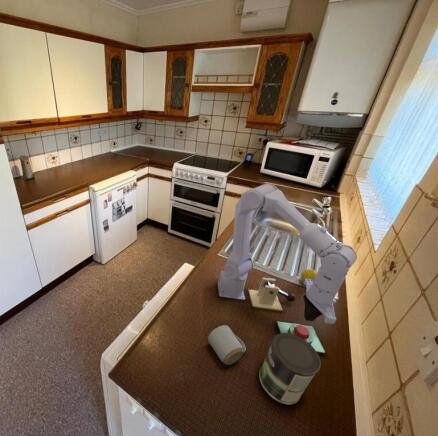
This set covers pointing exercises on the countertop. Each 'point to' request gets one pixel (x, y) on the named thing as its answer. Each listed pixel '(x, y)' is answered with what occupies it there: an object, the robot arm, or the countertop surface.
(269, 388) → the coffee can
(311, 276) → the lemon
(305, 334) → the button
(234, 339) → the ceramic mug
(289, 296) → the press lever
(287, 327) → the control block
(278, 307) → the lever bracket
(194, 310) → the countertop surface
